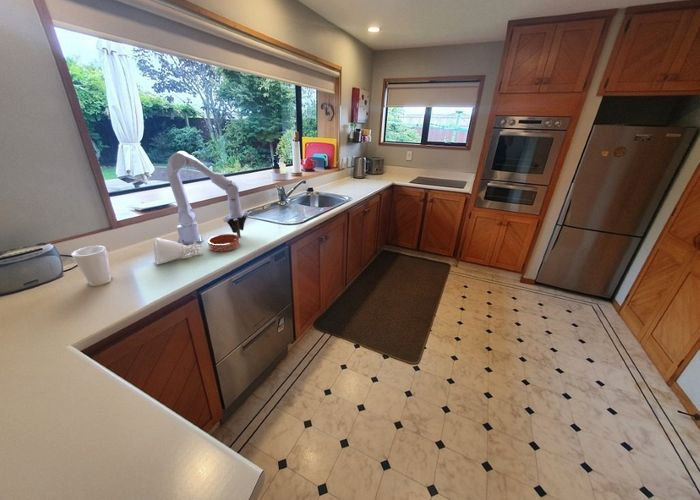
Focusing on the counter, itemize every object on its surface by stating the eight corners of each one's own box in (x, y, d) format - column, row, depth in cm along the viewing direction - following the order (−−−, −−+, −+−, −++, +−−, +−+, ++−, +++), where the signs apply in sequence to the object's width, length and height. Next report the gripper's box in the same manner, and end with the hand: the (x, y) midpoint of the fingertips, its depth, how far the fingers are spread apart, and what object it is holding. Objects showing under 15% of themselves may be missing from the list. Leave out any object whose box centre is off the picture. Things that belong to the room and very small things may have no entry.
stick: (237, 237, 151) (235, 220, 147) (236, 236, 153) (234, 219, 149) (241, 237, 152) (238, 219, 148) (240, 236, 154) (237, 218, 150)
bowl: (211, 254, 131) (210, 246, 130) (207, 244, 142) (205, 236, 141) (243, 248, 139) (241, 241, 137) (236, 239, 149) (235, 232, 148)
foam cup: (91, 277, 109) (79, 247, 104) (119, 274, 113) (109, 244, 107) (79, 289, 101) (65, 257, 96) (110, 285, 104) (99, 254, 99)
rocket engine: (202, 232, 130) (156, 232, 118) (207, 254, 126) (159, 256, 114) (197, 245, 138) (153, 246, 126) (201, 266, 134) (156, 269, 122)
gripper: (228, 211, 138) (232, 236, 144) (250, 204, 150) (253, 228, 155) (218, 208, 141) (223, 234, 147) (241, 202, 153) (244, 226, 158)
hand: (238, 231), depth 151 cm, fingers open, 4 cm apart
